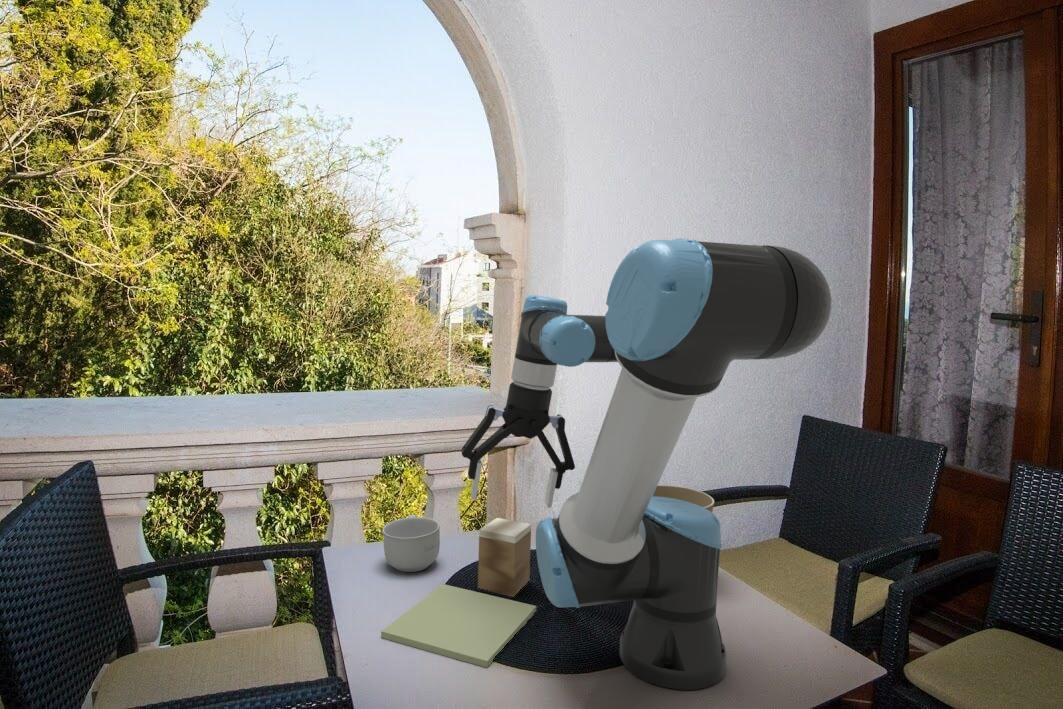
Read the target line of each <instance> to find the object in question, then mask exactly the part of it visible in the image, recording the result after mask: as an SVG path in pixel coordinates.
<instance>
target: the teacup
mask: <svg viewBox="0 0 1063 709" xmlns="http://www.w3.org/2000/svg"><path fill="white" fill-rule="evenodd" d="M440 528H441V524H440V522H439V521H438V520H437V519H434V518H430V517H428V516H427V517H423V516H417V514H409V515H408V517H404V518H402V517H401V518H399V519H394V520H392V521H390V522H388V523H386V524H385V525H384V526H383V527H382V529H381V530H382V531H381V532H382V537H383V538H382V540H383V550H384V552H383V553H384V557H385V560H386V561H387V563H388V564H389V565H390V566H392V567H393V568H395V569H396V570H397V571H398V572H404V573H415V572H420V571H423V570H425V569H427V568H428V567H430V566H431V564H432V563H434V562H435V561H436V560H437V558H438V556H439V554H440V545H441V544H440V543H441V541H440V540H441V538H440V534H441V533H440V532H441V531H440V530H441V529H440Z"/></svg>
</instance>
